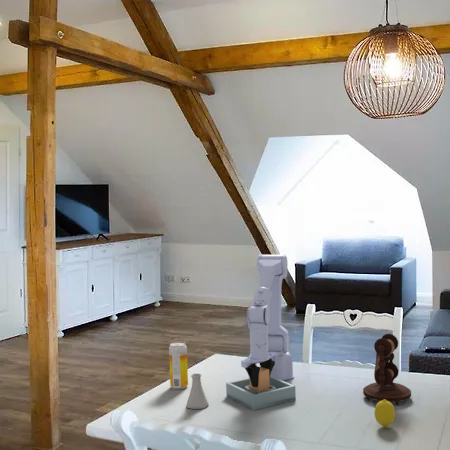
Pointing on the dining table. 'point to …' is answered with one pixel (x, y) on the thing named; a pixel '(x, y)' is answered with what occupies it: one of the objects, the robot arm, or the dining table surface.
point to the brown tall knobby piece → (386, 374)
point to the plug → (262, 380)
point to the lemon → (384, 413)
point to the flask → (197, 394)
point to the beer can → (178, 365)
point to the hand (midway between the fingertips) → (260, 384)
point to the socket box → (260, 393)
